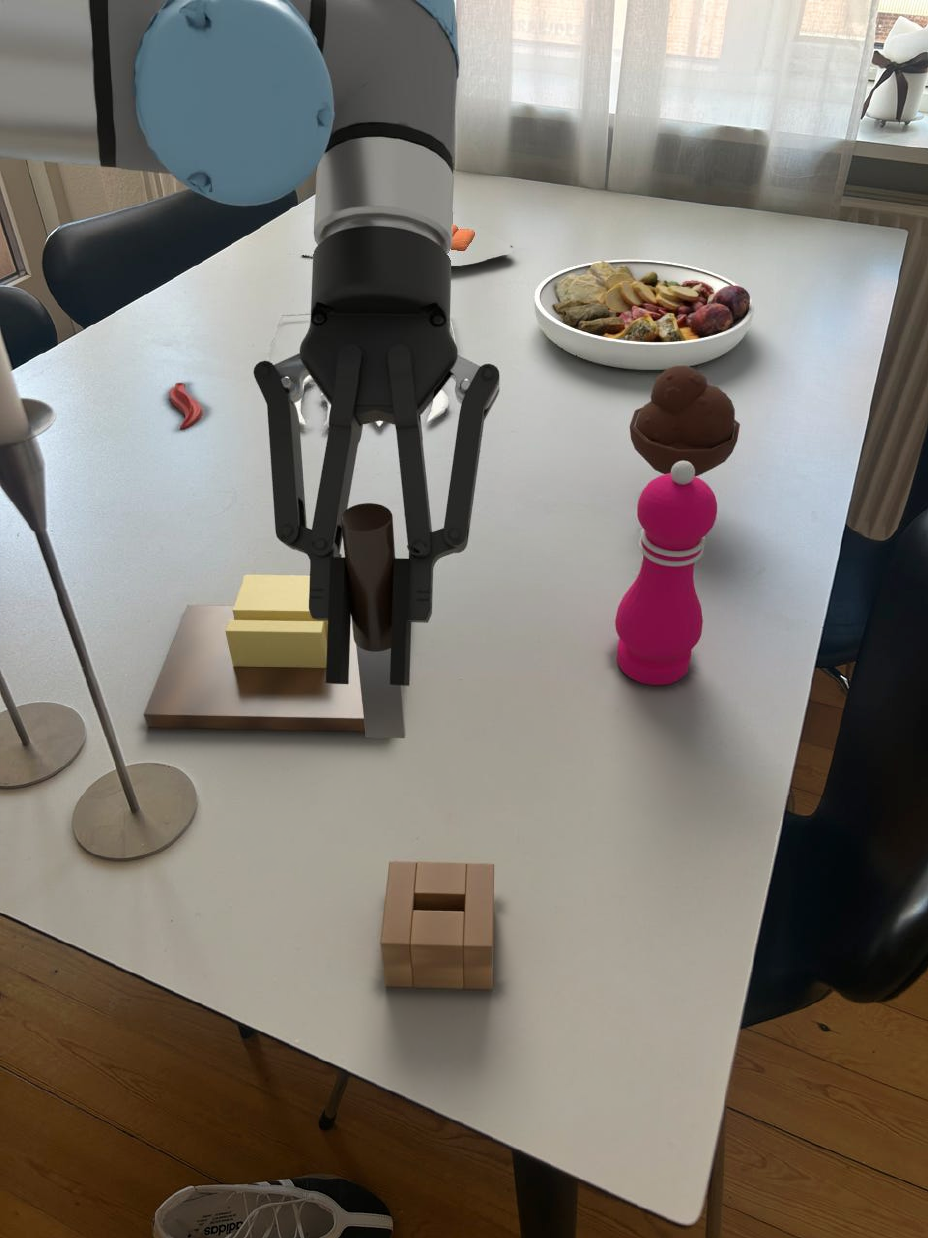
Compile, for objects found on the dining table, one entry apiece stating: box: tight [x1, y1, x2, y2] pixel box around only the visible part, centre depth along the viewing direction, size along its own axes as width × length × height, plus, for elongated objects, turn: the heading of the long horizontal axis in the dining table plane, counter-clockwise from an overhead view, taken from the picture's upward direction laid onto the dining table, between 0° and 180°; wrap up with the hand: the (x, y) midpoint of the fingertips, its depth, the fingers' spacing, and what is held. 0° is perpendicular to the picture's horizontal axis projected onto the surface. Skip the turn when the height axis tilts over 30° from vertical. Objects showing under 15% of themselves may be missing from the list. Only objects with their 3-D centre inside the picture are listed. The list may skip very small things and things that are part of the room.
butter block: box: [232, 574, 328, 640], centre depth 84 cm, size 8×5×4 cm, turn 88°
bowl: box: [533, 259, 755, 371], centre depth 134 cm, size 30×30×8 cm
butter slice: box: [225, 620, 327, 668], centre depth 81 cm, size 8×2×4 cm, turn 88°
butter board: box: [143, 604, 365, 732], centre depth 83 cm, size 20×14×2 cm
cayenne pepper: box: [168, 382, 204, 430], centre depth 120 cm, size 12×5×2 cm, turn 6°
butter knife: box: [341, 502, 406, 739], centre depth 54 cm, size 3×3×16 cm
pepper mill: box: [614, 461, 718, 686], centre depth 78 cm, size 7×7×20 cm
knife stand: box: [379, 860, 495, 991], centre depth 62 cm, size 7×6×5 cm
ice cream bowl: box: [629, 366, 741, 477], centre depth 98 cm, size 11×11×15 cm
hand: (368, 683), depth 51 cm, fingers closed on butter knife, 3 cm apart
